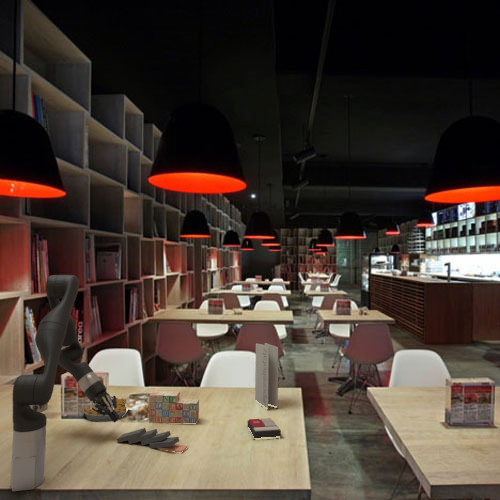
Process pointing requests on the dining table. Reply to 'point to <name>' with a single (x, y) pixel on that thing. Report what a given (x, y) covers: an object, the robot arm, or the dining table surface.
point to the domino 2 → (144, 436)
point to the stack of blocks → (172, 408)
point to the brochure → (266, 374)
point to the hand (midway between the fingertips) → (117, 420)
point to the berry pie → (99, 417)
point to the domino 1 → (131, 435)
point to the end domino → (175, 448)
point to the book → (263, 428)
